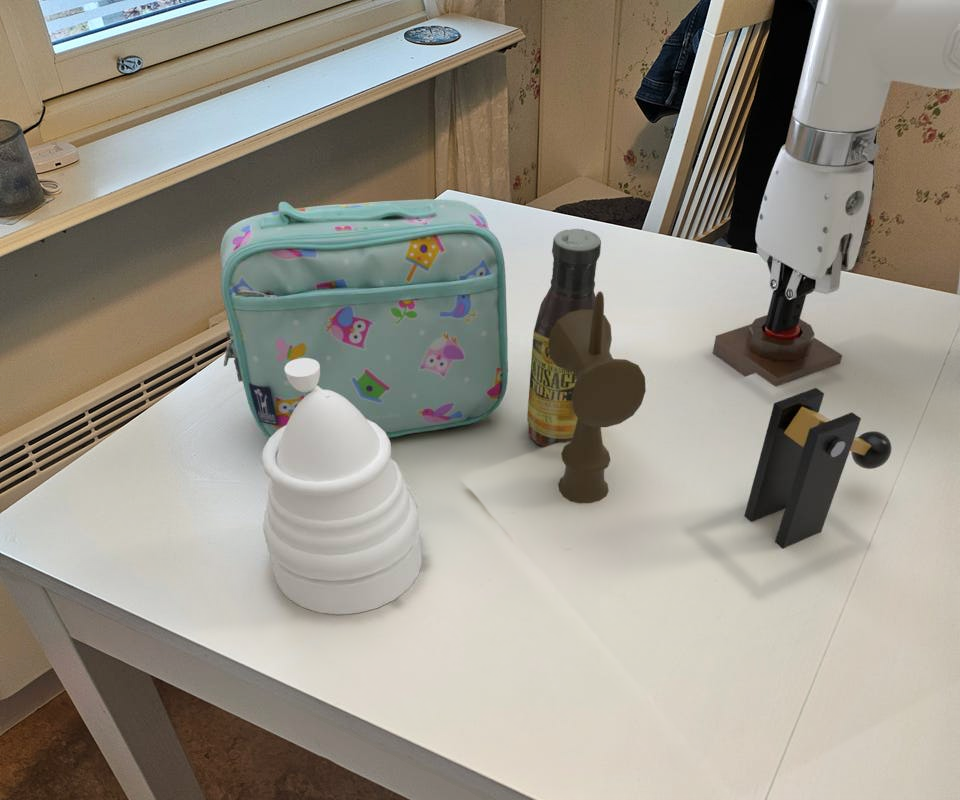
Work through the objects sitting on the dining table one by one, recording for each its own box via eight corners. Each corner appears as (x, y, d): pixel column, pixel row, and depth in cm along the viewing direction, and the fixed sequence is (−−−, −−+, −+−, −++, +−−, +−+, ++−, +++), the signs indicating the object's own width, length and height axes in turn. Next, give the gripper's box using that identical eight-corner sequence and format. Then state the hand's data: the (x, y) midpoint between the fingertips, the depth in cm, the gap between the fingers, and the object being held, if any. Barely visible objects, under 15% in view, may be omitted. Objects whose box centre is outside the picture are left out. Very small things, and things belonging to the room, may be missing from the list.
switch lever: (855, 459, 81) (878, 427, 79) (881, 478, 79) (905, 446, 77) (776, 434, 72) (800, 398, 71) (803, 454, 70) (829, 418, 69)
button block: (774, 332, 103) (782, 299, 100) (837, 373, 97) (847, 339, 94) (712, 353, 100) (718, 320, 97) (772, 397, 94) (781, 362, 91)
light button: (780, 330, 98) (784, 315, 97) (803, 345, 96) (807, 330, 95) (754, 339, 97) (758, 324, 96) (777, 354, 95) (781, 339, 94)
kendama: (564, 535, 80) (579, 327, 65) (538, 471, 86) (546, 267, 71) (629, 526, 81) (658, 318, 66) (598, 462, 87) (618, 259, 72)
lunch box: (246, 467, 87) (190, 248, 71) (242, 408, 94) (191, 196, 78) (513, 431, 91) (516, 214, 75) (491, 376, 98) (490, 167, 82)
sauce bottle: (514, 440, 90) (518, 241, 75) (547, 410, 93) (557, 214, 78) (571, 462, 87) (586, 261, 72) (603, 430, 91) (624, 232, 76)
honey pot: (245, 559, 78) (193, 376, 65) (361, 495, 84) (336, 314, 71) (332, 638, 72) (295, 453, 59) (452, 563, 78) (443, 378, 64)
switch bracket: (795, 485, 84) (833, 363, 75) (866, 541, 79) (916, 416, 69) (693, 527, 80) (719, 404, 71) (760, 589, 75) (798, 464, 66)
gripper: (922, 159, 79) (858, 350, 92) (803, 108, 87) (761, 289, 101) (859, 176, 76) (802, 369, 90) (743, 122, 85) (708, 305, 99)
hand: (780, 326), depth 95 cm, fingers closed
